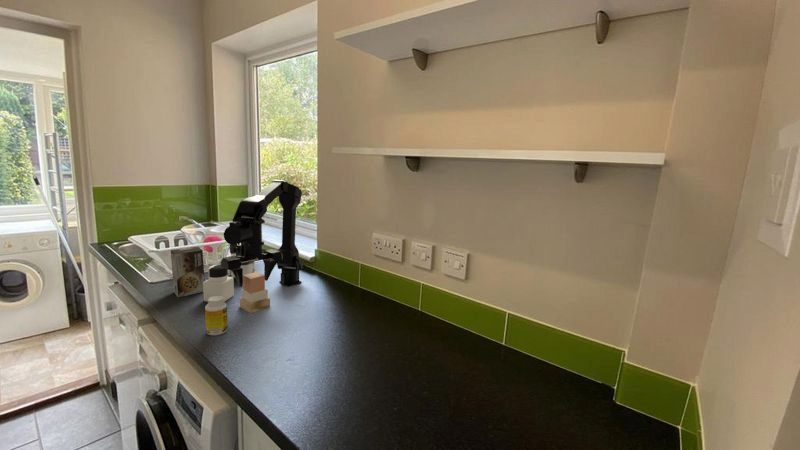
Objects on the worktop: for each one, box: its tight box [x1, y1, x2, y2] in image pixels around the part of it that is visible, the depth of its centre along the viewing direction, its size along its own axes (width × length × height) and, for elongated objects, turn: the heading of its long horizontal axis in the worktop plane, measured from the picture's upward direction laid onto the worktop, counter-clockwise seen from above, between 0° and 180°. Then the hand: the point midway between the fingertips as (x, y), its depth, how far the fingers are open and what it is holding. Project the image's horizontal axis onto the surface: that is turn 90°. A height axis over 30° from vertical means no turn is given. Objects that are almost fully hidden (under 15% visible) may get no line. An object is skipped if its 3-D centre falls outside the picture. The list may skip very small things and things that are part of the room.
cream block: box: [241, 288, 269, 303], centre depth 118 cm, size 6×6×3 cm
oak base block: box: [239, 296, 271, 314], centre depth 118 cm, size 7×7×4 cm
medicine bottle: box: [202, 264, 235, 303], centre depth 123 cm, size 7×7×12 cm
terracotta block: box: [242, 271, 266, 293], centre depth 117 cm, size 5×5×5 cm
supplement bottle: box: [204, 296, 229, 336], centre depth 100 cm, size 6×6×10 cm
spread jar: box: [228, 253, 256, 281], centre depth 146 cm, size 12×11×12 cm
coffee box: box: [170, 246, 206, 298], centre depth 127 cm, size 9×6×16 cm
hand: (253, 283), depth 117 cm, fingers open, 9 cm apart
